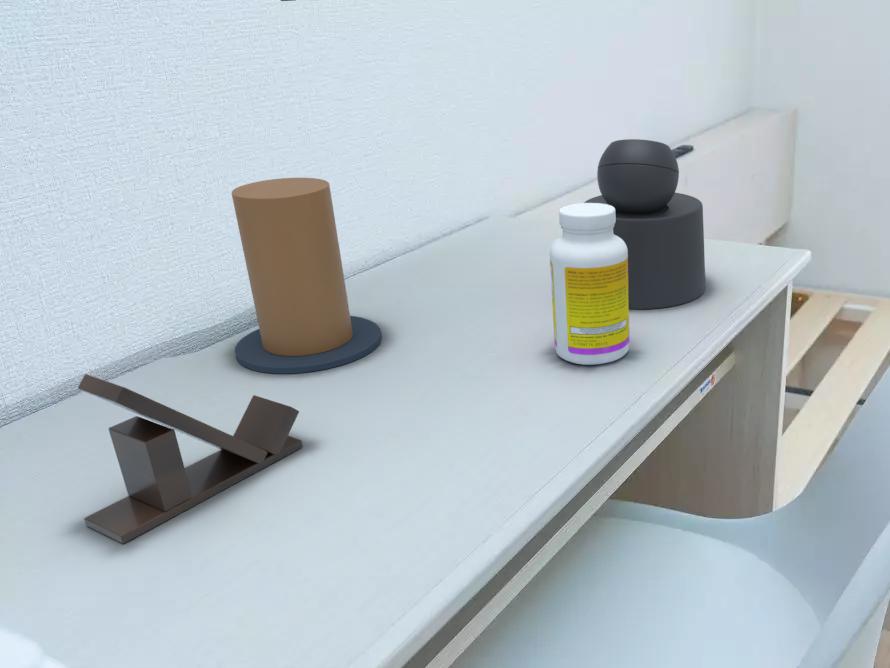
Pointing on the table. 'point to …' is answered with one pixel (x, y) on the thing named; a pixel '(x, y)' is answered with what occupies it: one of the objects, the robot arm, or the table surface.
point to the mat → (263, 361)
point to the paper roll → (294, 265)
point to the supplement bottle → (589, 286)
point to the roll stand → (160, 463)
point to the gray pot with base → (653, 223)
